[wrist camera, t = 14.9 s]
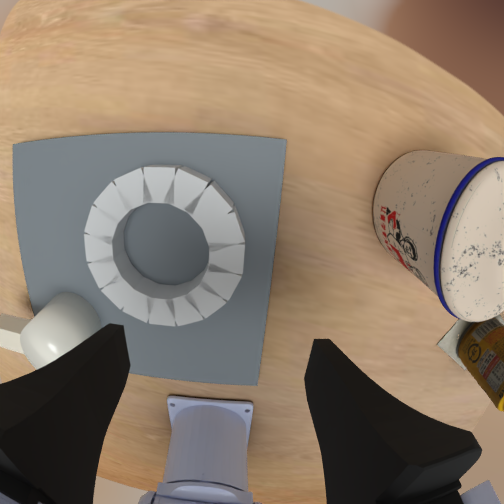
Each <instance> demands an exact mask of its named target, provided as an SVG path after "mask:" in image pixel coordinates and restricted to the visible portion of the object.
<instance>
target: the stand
mask: <svg viewBox="0 0 504 504" xmlns="http://www.w3.org/2000/svg"><path fill="white" fill-rule="evenodd" d="M286 142H287V140H285V139H276V138H266V137H256V136H243V135H229V134H210V133H174V132H151V133H116V134H98V135H85V136H73V137H63V138H54V139H46V140H38V141H31V142H24V143H18V144H13V189H14V204H15V215H16V225H17V233H18V240H19V247H20V253H21V259H22V265H23V270H24V275H25V280H26V284H27V289H28V293H29V297H30V301H31V305H32V309H33V313H34V316H36V315H37V314H38V313H39V312H40V311H41V310H42V309H43V308H44V307H45V306H46V305H47V304H48V303H49V302H50V301H51V300H52V299H53V298H54V297H55V296H56V295H57V294H59V293H62V292H71V293H74V294H77V295H79V296H81V297H82V298H84V299H85V300H86V301H87V302H89V303H90V305H91V306H92V307H93V308H94V309H95V311H96V313H97V314H98V316H99V319H100V322H101V328H103V327H104V326H106V325H107V324H109V323H112V324H119V325H124V331H125V337H126V343H127V348H128V354H129V359H130V364H131V366H130V370H129V373H132V374H138V375H144V376H151V377H158V378H166V379H174V380H183V381H192V382H203V383H215V384H230V385H252V386H257V384H258V377H259V370H260V363H261V355H262V348H263V341H264V333H265V326H266V318H267V310H268V303H269V295H270V287H271V279H272V270H273V262H274V254H275V245H276V237H277V228H278V219H279V210H280V201H281V191H282V182H283V172H284V162H285V152H286Z"/></svg>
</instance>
